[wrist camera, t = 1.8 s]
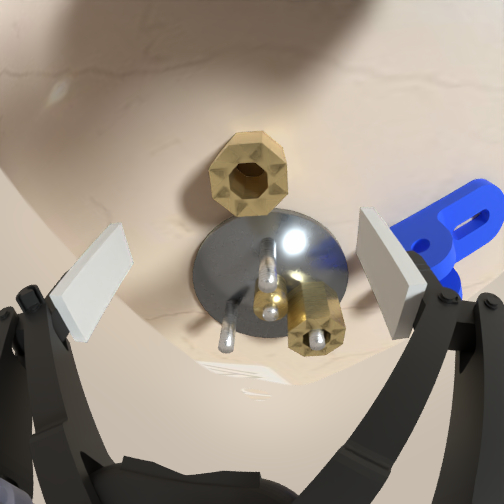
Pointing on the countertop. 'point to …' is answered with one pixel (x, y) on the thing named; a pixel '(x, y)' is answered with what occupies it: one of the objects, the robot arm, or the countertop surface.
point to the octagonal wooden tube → (249, 188)
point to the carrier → (274, 281)
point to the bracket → (444, 222)
